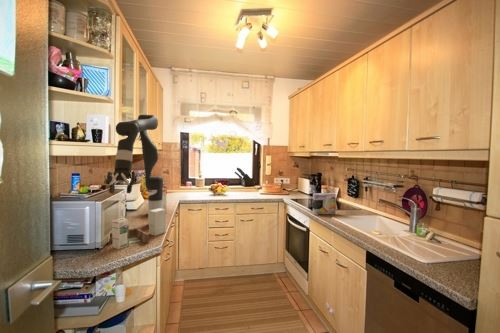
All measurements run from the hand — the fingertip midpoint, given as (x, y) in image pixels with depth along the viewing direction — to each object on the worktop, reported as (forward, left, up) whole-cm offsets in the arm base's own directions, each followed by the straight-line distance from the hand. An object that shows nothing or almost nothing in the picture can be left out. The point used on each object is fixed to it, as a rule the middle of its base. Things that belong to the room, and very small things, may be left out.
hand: (120, 193), depth 125 cm
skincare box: (-20, +28, -30) cm, 46 cm away
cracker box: (-69, +51, -30) cm, 91 cm away
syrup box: (-12, +4, -30) cm, 33 cm away
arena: (-15, +9, -30) cm, 35 cm away
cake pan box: (+22, +152, -30) cm, 157 cm away
